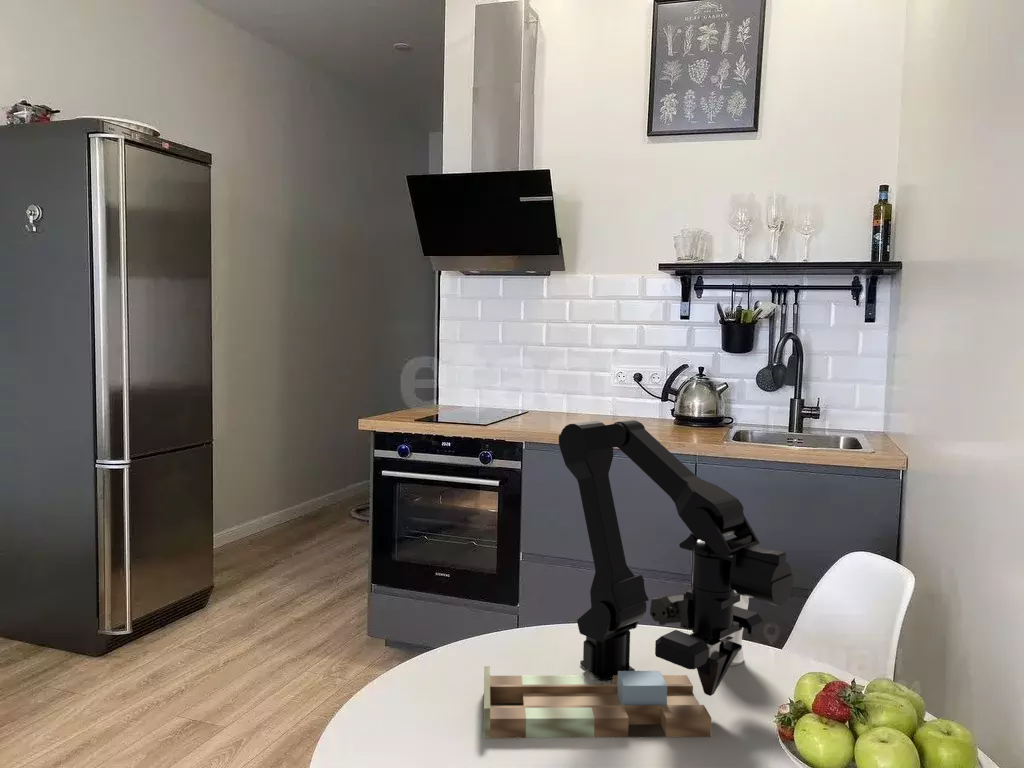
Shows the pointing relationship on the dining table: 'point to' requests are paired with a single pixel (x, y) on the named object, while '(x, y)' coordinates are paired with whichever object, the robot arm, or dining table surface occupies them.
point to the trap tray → (586, 709)
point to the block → (641, 688)
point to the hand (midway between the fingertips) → (708, 694)
